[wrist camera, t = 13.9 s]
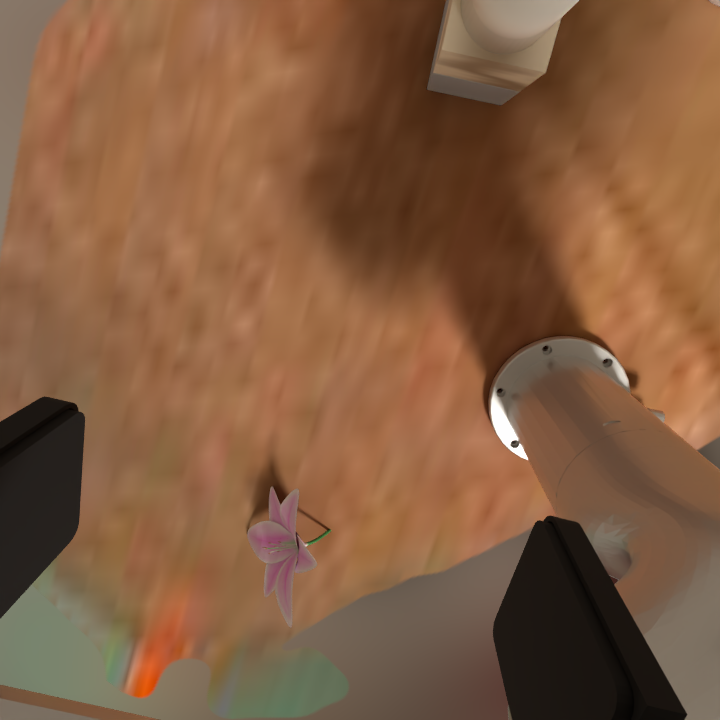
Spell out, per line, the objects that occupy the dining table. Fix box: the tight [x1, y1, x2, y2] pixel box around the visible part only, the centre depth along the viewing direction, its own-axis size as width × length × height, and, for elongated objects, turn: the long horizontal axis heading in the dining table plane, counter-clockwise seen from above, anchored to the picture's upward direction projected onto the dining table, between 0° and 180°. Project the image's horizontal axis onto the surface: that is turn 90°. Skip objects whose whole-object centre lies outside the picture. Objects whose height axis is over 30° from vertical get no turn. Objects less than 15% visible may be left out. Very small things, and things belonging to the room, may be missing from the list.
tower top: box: [433, 0, 562, 92], centre depth 30 cm, size 6×6×6 cm
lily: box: [247, 486, 331, 627], centre depth 50 cm, size 12×12×10 cm
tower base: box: [427, 0, 519, 105], centre depth 36 cm, size 6×6×6 cm
